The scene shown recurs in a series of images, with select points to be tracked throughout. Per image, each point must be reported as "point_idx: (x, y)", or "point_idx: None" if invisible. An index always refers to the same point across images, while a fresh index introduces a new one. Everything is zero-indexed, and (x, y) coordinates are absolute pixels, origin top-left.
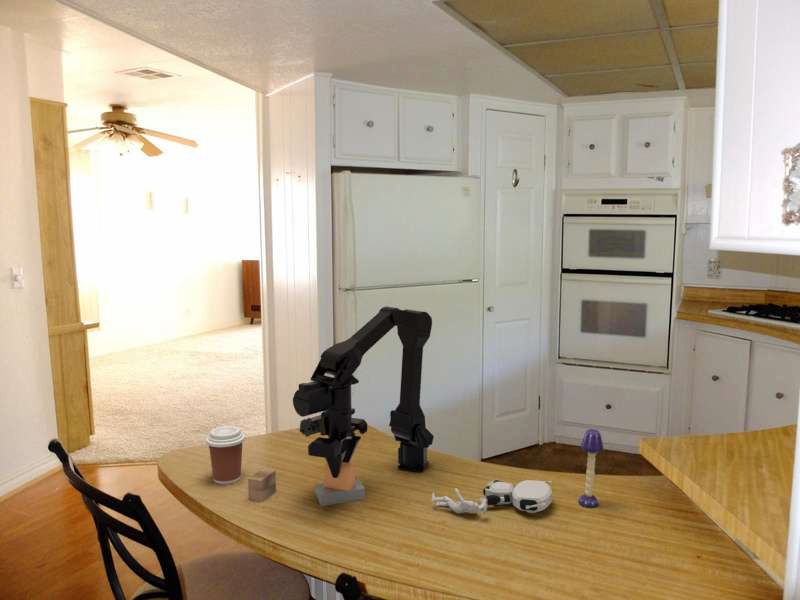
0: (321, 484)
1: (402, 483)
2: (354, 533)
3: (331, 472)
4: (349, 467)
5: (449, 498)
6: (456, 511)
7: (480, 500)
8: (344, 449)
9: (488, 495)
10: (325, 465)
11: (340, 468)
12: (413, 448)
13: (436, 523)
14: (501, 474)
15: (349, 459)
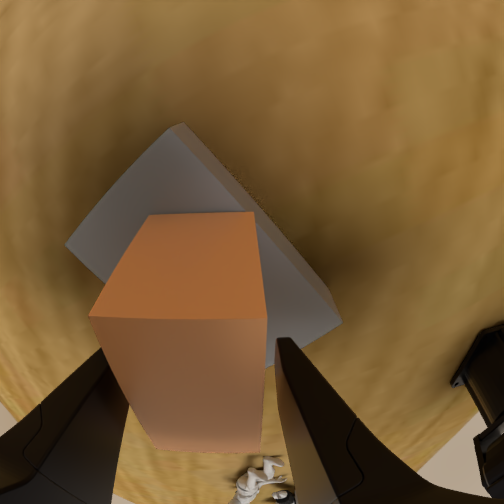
0: (180, 173)
1: (386, 382)
2: (44, 371)
3: (90, 361)
4: (184, 448)
5: (250, 491)
6: (237, 480)
7: (275, 496)
8: (314, 500)
9: (289, 501)
10: (100, 324)
11: (120, 430)
12: (492, 415)
13: (189, 463)
14: (418, 454)
15: (286, 445)
